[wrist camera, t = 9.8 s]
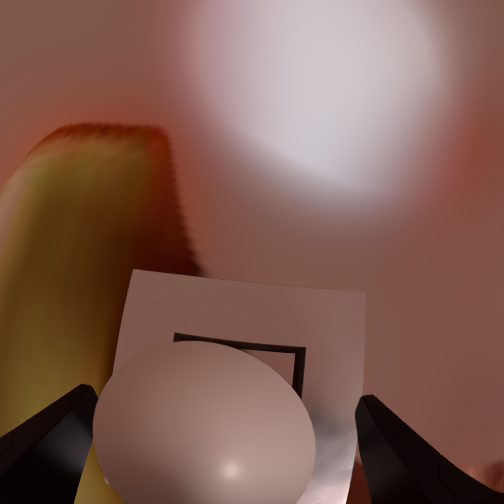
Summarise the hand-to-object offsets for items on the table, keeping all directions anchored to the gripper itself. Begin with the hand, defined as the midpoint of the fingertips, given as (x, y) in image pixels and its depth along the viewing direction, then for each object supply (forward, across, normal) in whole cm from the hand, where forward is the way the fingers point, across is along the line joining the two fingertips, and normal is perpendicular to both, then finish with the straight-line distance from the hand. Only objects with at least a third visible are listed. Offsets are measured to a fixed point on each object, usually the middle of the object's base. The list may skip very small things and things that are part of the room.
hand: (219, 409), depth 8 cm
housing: (+6, 0, +6) cm, 9 cm away
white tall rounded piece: (+6, 0, +6) cm, 9 cm away
